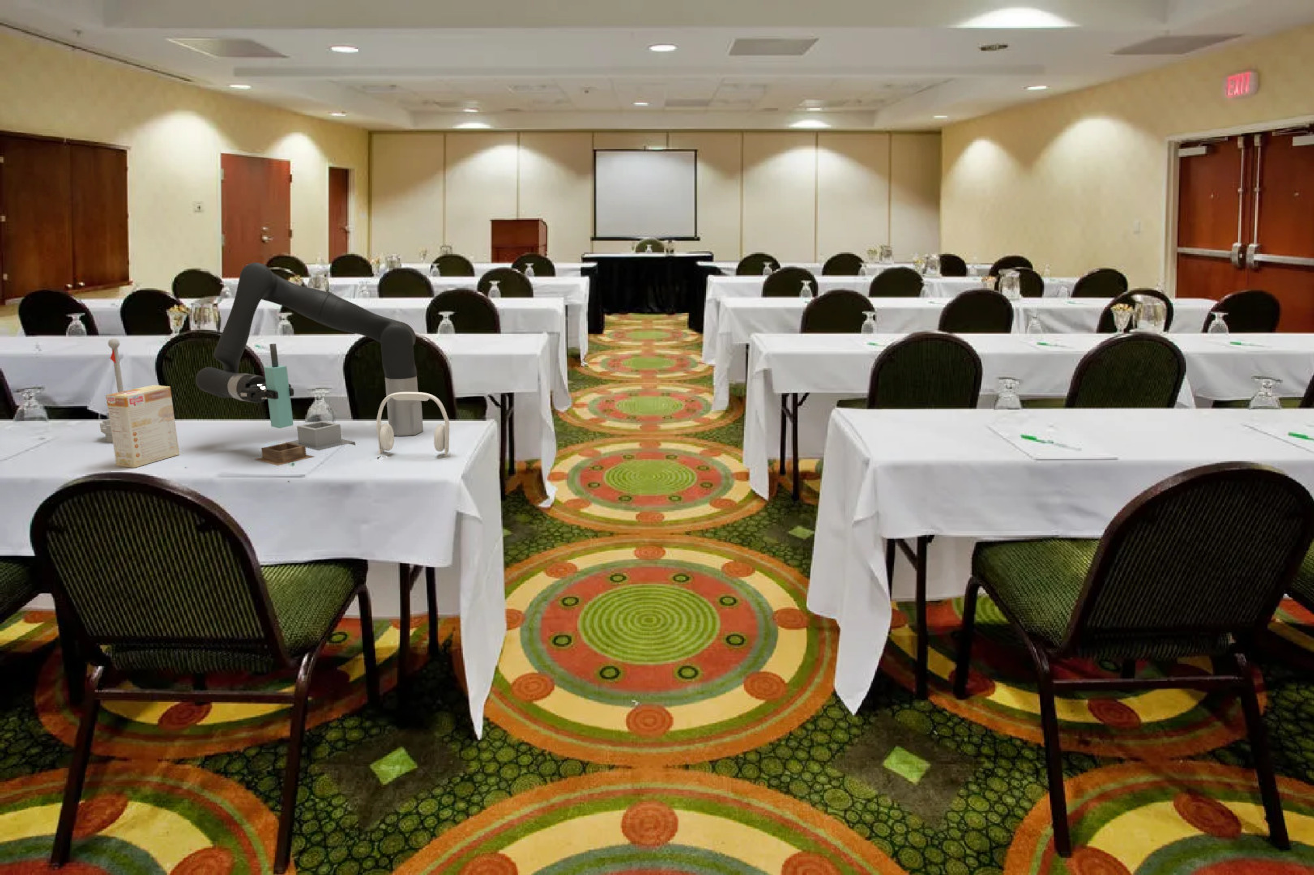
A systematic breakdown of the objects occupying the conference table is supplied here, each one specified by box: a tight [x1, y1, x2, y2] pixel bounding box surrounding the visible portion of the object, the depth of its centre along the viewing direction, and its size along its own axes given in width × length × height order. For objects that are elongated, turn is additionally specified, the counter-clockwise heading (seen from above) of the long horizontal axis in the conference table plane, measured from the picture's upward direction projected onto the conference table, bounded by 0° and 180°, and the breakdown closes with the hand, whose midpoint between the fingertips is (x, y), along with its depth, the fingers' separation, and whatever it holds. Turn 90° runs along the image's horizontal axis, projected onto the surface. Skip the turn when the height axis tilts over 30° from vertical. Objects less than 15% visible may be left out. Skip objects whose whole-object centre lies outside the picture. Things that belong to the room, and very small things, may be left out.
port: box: [285, 420, 356, 451], centre depth 275 cm, size 12×16×6 cm
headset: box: [375, 391, 450, 459], centre depth 261 cm, size 20×7×18 cm, turn 86°
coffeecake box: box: [105, 384, 180, 469], centre depth 258 cm, size 15×7×20 cm, turn 159°
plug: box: [263, 343, 294, 429], centre depth 253 cm, size 4×4×22 cm
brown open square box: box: [254, 441, 315, 466], centre depth 258 cm, size 11×11×4 cm
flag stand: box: [99, 338, 124, 443], centre depth 283 cm, size 13×13×30 cm
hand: (284, 393), depth 252 cm, fingers closed on plug, 4 cm apart
